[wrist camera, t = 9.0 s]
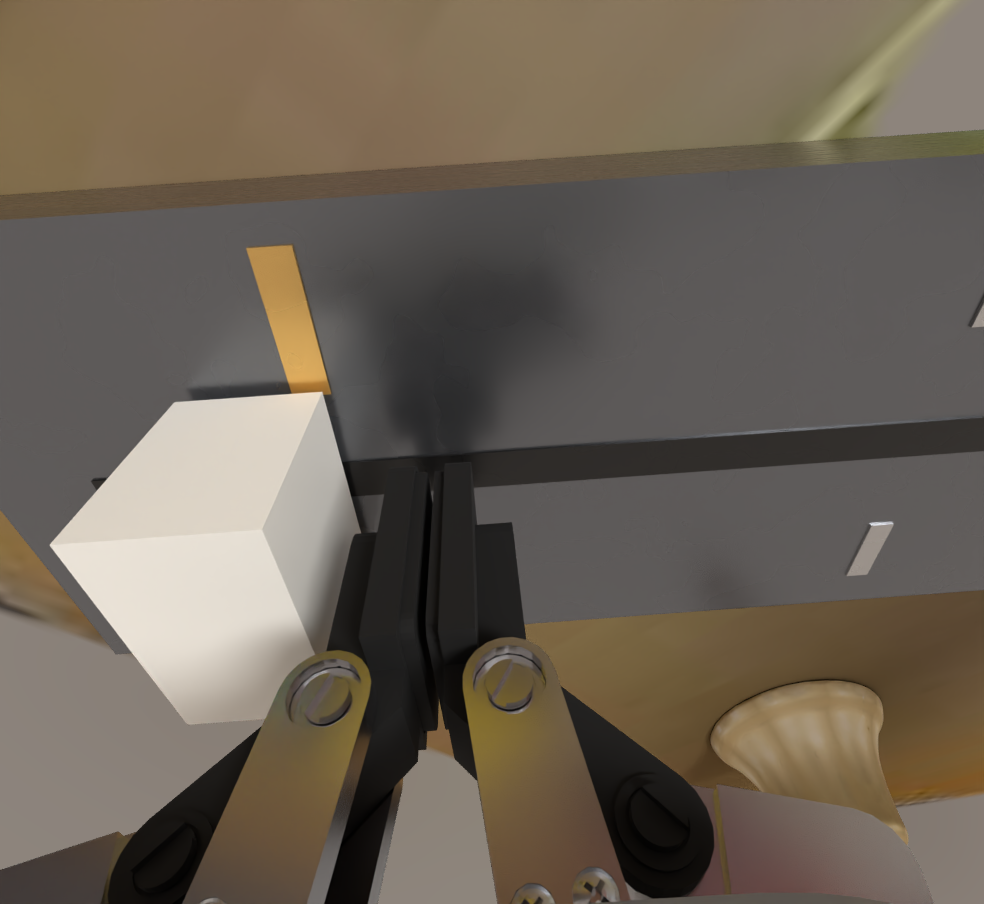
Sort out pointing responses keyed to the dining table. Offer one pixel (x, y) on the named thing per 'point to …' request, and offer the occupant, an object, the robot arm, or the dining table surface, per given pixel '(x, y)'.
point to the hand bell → (811, 746)
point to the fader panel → (549, 356)
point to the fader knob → (220, 549)
